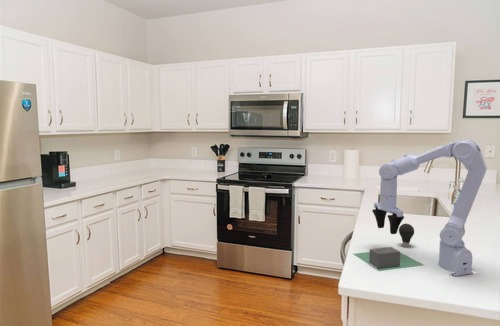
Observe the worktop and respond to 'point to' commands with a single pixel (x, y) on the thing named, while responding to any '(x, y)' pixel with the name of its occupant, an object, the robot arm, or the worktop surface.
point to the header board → (404, 263)
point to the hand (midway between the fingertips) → (387, 230)
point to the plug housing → (384, 257)
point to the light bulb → (406, 233)
